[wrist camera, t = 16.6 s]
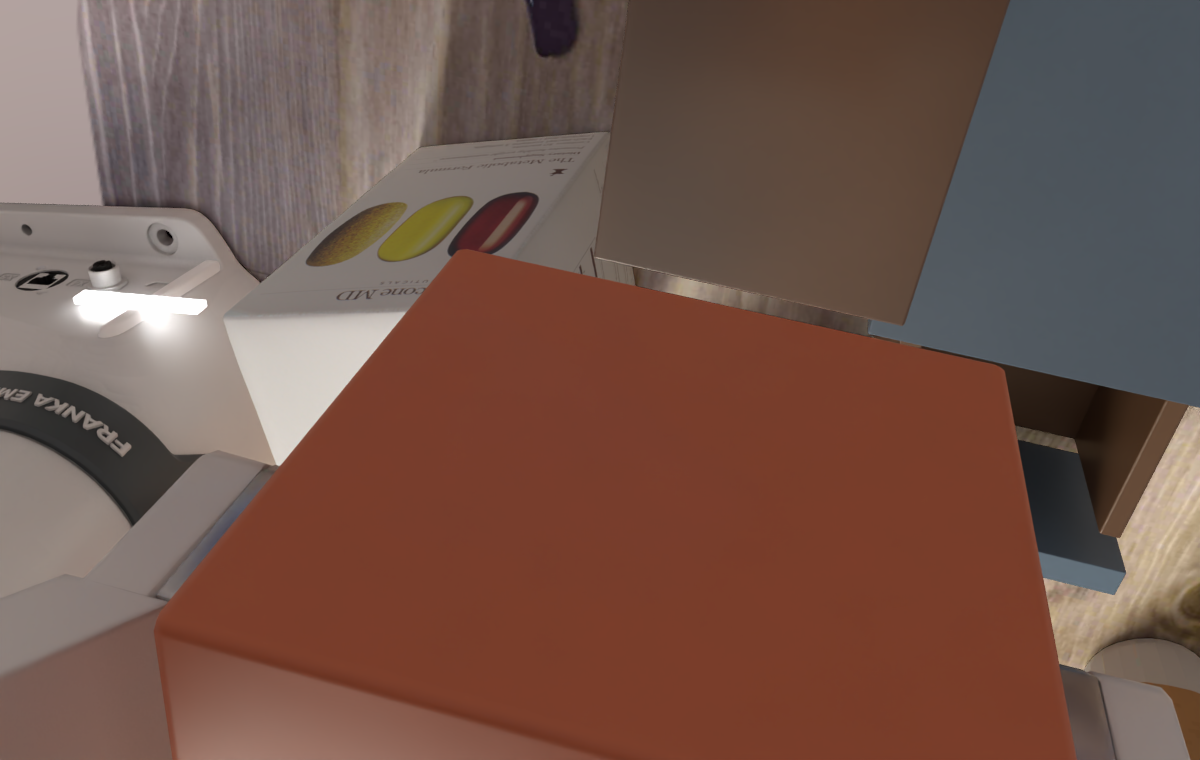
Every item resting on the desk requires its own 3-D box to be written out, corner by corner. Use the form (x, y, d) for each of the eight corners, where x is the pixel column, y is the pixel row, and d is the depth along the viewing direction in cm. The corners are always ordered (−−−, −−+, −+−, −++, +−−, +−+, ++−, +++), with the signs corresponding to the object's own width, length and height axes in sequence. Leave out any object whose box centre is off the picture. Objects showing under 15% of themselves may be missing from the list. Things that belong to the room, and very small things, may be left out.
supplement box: (614, 125, 45) (490, 302, 31) (645, 318, 50) (548, 549, 36) (409, 145, 48) (209, 316, 34) (456, 327, 52) (296, 544, 38)
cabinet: (1179, 292, 43) (1244, 418, 35) (871, 227, 45) (866, 334, 37) (1363, -92, 35) (1501, -41, 28) (981, -155, 37) (1006, -123, 29)
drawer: (1046, 557, 50) (1069, 680, 44) (807, 499, 52) (795, 609, 45) (1216, 199, 40) (1278, 289, 34) (914, 139, 42) (919, 214, 35)
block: (436, 625, 11) (212, 1071, 7) (458, 241, 9) (143, 619, 5) (860, 739, 10) (846, 1279, 7) (1008, 362, 8) (1109, 887, 4)
